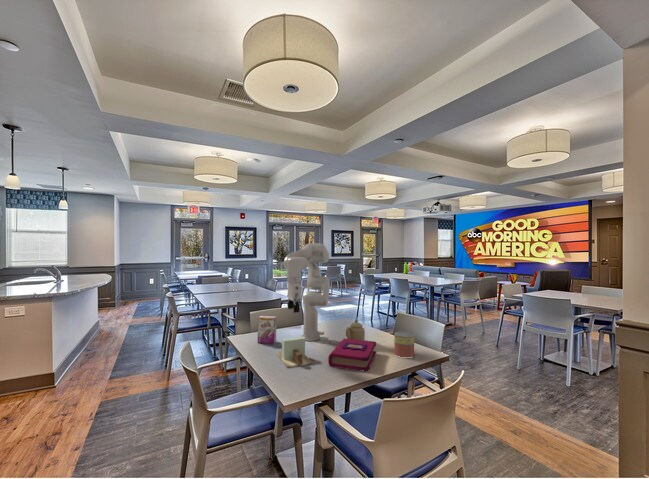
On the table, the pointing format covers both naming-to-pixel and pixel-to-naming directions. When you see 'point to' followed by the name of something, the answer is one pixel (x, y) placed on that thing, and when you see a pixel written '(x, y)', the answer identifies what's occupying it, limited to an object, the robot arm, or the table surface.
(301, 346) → the sage plate
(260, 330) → the candy bar box
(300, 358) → the slot board
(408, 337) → the canned food
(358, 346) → the book
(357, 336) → the sugar bowl
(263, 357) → the table surface
